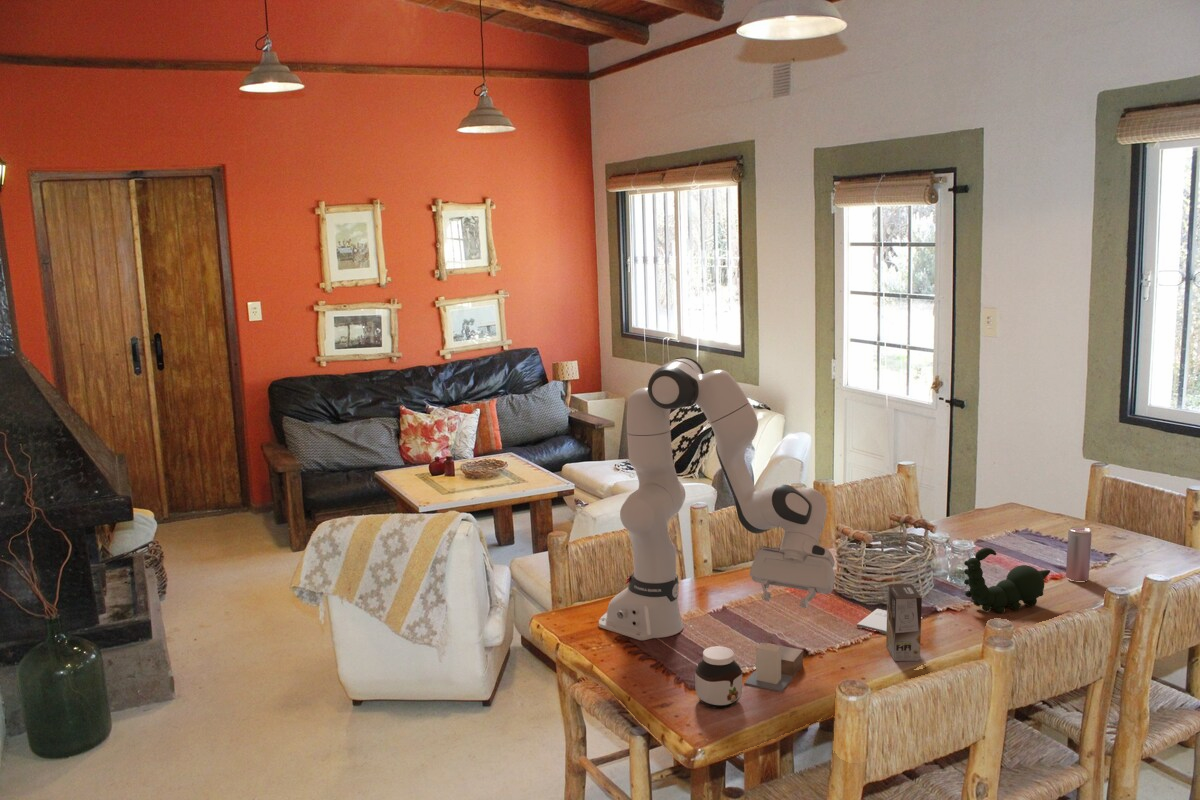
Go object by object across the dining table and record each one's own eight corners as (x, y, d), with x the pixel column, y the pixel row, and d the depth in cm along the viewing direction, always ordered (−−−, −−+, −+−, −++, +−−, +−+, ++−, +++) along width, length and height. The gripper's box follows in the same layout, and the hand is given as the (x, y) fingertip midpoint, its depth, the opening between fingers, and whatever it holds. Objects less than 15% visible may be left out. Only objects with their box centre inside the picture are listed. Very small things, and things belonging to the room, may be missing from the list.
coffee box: (921, 661, 244) (923, 598, 240) (894, 661, 244) (895, 598, 241) (910, 644, 253) (912, 583, 249) (884, 645, 253) (886, 584, 250)
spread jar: (708, 714, 222) (708, 664, 220) (682, 692, 232) (681, 644, 230) (754, 701, 227) (754, 652, 225) (727, 680, 237) (727, 633, 235)
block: (756, 679, 236) (756, 647, 234) (760, 674, 238) (760, 642, 237) (776, 684, 233) (776, 651, 232) (781, 678, 236) (781, 646, 234)
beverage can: (1062, 575, 294) (1065, 526, 291) (1084, 576, 293) (1087, 526, 290) (1069, 583, 288) (1072, 532, 285) (1091, 583, 288) (1094, 533, 285)
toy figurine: (980, 626, 266) (1062, 605, 272) (977, 558, 262) (1061, 539, 268) (959, 612, 275) (1039, 593, 281) (956, 546, 271) (1037, 528, 276)
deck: (756, 670, 242) (756, 654, 241) (767, 658, 248) (767, 643, 247) (793, 677, 237) (793, 661, 236) (802, 665, 243) (803, 649, 242)
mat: (744, 684, 235) (744, 682, 235) (756, 670, 242) (756, 668, 242) (781, 692, 230) (781, 690, 230) (793, 677, 237) (793, 676, 237)
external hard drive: (856, 629, 264) (876, 613, 273) (886, 637, 259) (905, 620, 268) (856, 623, 264) (876, 607, 273) (886, 631, 258) (905, 614, 268)
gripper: (754, 539, 251) (739, 590, 245) (836, 551, 241) (822, 605, 235) (761, 551, 256) (746, 601, 250) (841, 563, 246) (828, 616, 240)
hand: (784, 603), depth 242 cm, fingers open, 8 cm apart
